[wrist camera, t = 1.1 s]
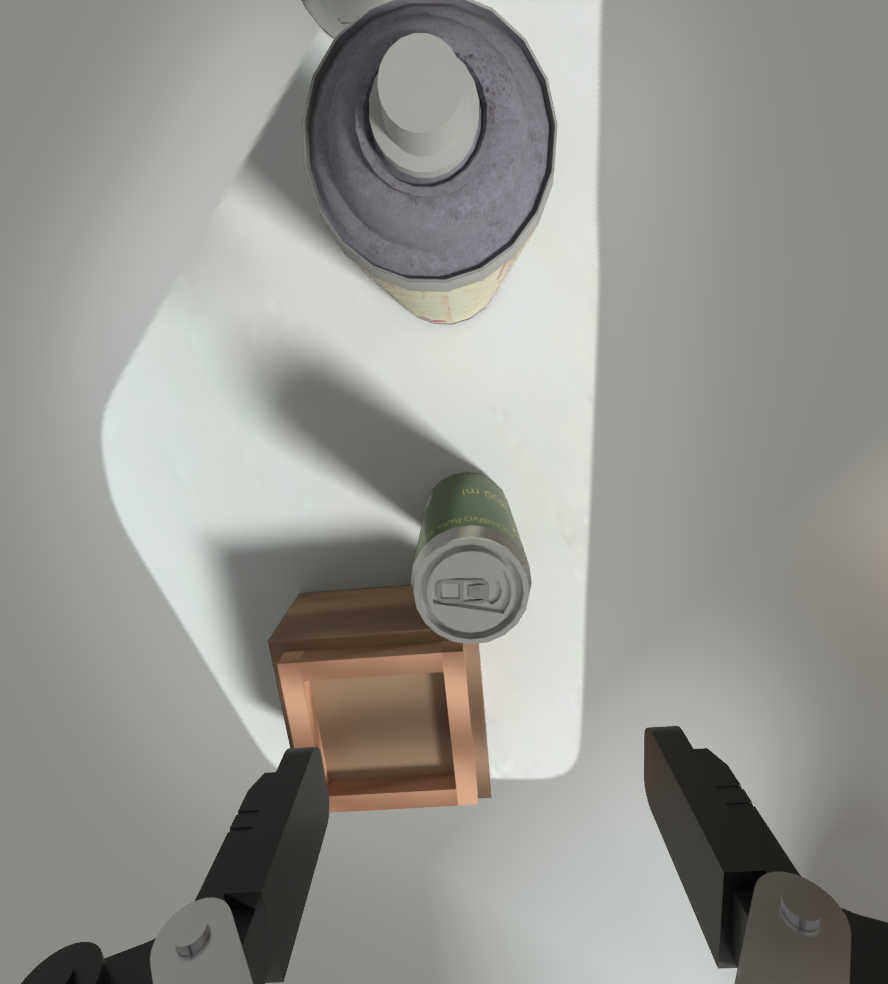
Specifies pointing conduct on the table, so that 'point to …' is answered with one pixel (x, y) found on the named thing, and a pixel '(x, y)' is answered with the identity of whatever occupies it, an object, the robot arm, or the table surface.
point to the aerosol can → (431, 150)
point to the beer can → (469, 562)
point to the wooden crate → (382, 701)
